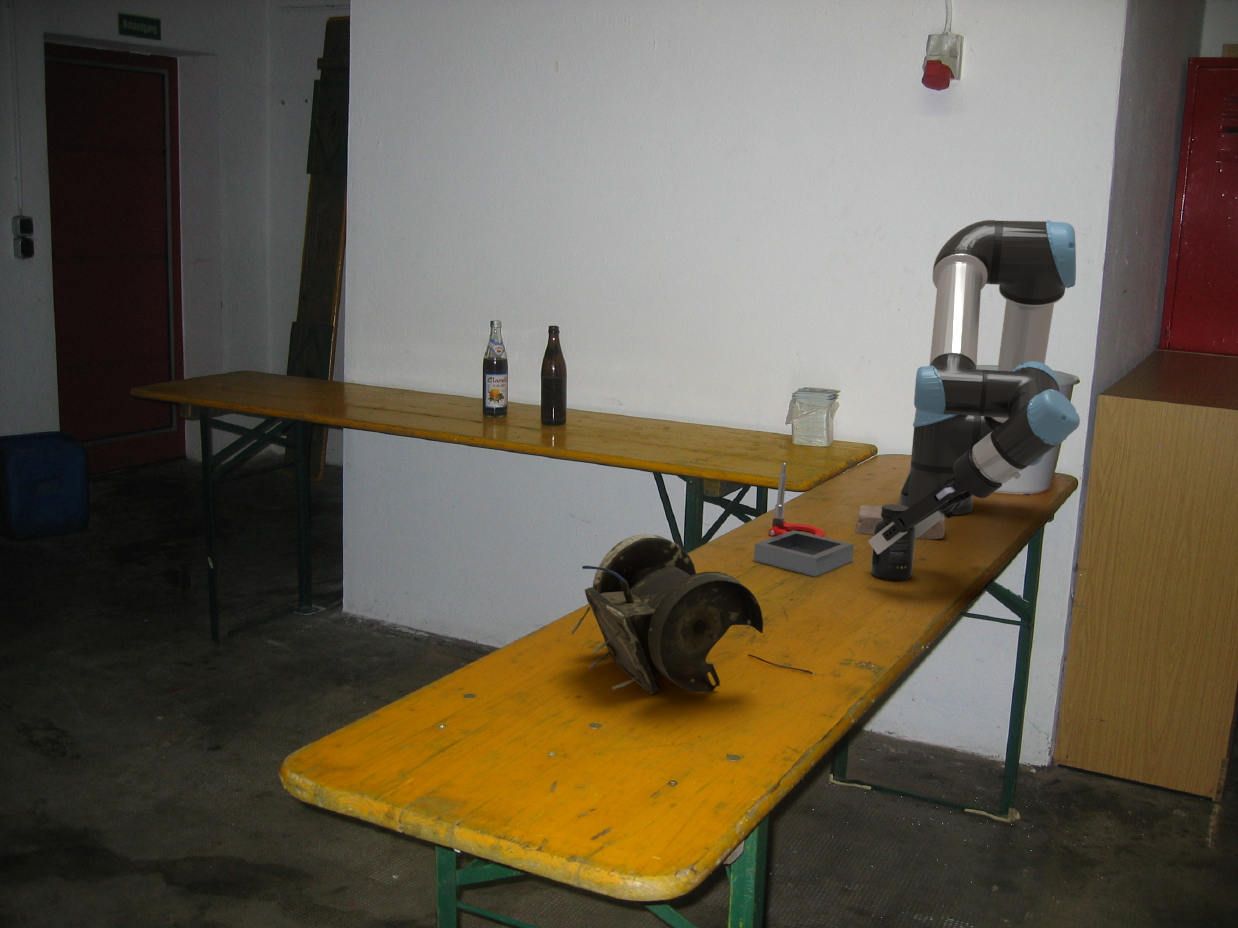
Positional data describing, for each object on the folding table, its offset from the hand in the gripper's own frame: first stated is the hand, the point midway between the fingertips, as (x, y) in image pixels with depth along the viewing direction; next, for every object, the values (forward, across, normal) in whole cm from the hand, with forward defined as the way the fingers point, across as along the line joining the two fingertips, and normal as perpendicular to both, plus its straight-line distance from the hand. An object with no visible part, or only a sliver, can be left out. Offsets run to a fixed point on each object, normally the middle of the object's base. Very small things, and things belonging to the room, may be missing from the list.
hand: (893, 539), depth 183 cm
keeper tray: (+15, -3, +6) cm, 17 cm away
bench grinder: (+7, -60, -3) cm, 61 cm away
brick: (+14, +27, +4) cm, 30 cm away
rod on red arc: (+22, +11, +13) cm, 28 cm away
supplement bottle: (+5, +1, -5) cm, 7 cm away
